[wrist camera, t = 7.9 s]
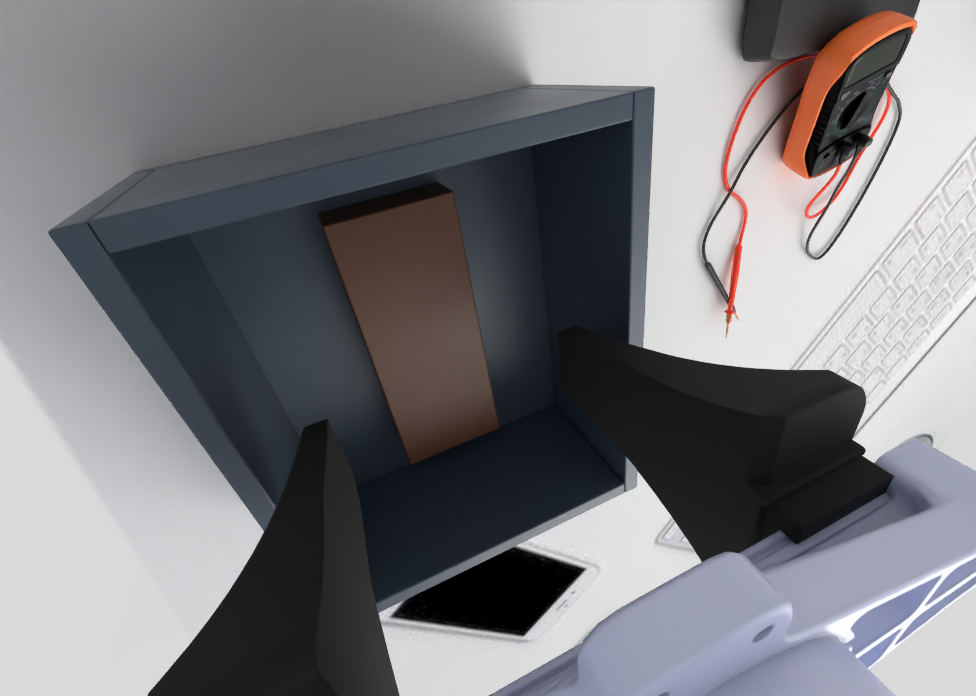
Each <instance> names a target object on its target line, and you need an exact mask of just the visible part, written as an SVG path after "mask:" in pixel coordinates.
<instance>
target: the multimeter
mask: <svg viewBox="0 0 976 696" xmlns="http://www.w3.org/2000/svg"><path fill="white" fill-rule="evenodd" d="M919 2H920V0H749V5H748V12H747V18H746V25H745V32H744V39H743V47H742V56H743V59H744V60H745V61H748V62H761V61H781V60H786V59H789V58H793V57H797V56H800V55H804V54H807V53H811V52H815V51H819V50H821V51H820V52H819V54H812V55H806V56H801V57H798V58H795V59H793V60H790V61H788V62H786V63H784V64H782V65H780V66H779V67H777V68H776V69H774V70H773V71H772V72H771V73H769V74H768V75H767V76H766V77H765V78H764V79H763V80H762V81H761V82H760V83H759V84H758V86H757V87H756V88H755V90H754V91H753V93H752V94H751V96H750V97H749V99H748V101H747V103H746V104H745V106H744V108H743V111H742V113H741V115H740V117H739V120H738V122H737V125H736V127H735V130H734V132H733V135H732V138H731V141H730V144H729V147H728V151H727V155H726V159H725V164H724V175H723V176H724V183H725V187H726V189H727V190H728V194H727V196H726V198H725V199H724V201H723V202H722V204H721V206H720V207H719V209H718V210H717V212H716V214H715V215H714V217H713V219H712V220H711V222H710V224H709V226H708V228H707V231H706V233H705V236H704V239H703V244H702V254H703V258H704V262H705V267H706V269H707V270H708V272H709V274H710V275H711V277H712V279H713V281H714V282H715V284H716V286H717V287H718V289H719V291H720V292H721V294H722V296H723V297H724V299H725V301H726V302H727V304H728V310H725V311H724V312H725V313H727V315H726V323H727V329H726V337H727V333H728V327H729V323H730V322H731V318H732V314H733V313H734V314H735V316H736V317H737V319H738V320H739V318H738V316H737V314H736V313H735V312H736V311H735V308H734V305H733V303H734V298H735V292H736V286H737V281H738V274H739V267H740V259H741V251H742V246H741V242H742V237H743V234H744V230H745V226H746V222H747V214H748V212H747V207H746V204H745V202H744V201H743V200H742V199H741V198H740V197H739V196H738V195H736V194H735V193H734V192H733V189H734V187H735V185H736V183H737V181H738V179H739V177H740V175H741V173H742V172H743V170H744V168H745V166H746V165H747V163H748V161H749V160H750V158H751V156H752V155H753V153H754V152H755V150H756V149H757V147H758V146H759V144H760V143H761V142H762V140H763V139H764V137H765V136H766V135H767V133H768V132H769V130H770V129H771V128H772V126H773V125H774V124H775V122H776V121H777V120H778V119H779V117H780V116H781V115H782V114H783V112H784V111H785V110H786V109H787V108H788V106H789V105H790V104H791V103H792V102H793V101H794V100H795V99H796V98H797V96H798V95H799V94H800V93H801V92H802V91H803V93H802V96H801V100H800V103H799V106H798V109H797V113H796V116H795V119H794V122H793V125H792V128H791V131H790V134H789V138H788V141H787V144H786V147H785V150H784V154H783V158H782V159H783V162H784V164H785V165H786V166H787V167H789V168H790V169H791V170H793V171H794V172H796V173H797V174H799V175H800V176H802V177H804V178H806V179H810V178H814V177H817V176H820V175H822V174H824V173H826V172H828V171H830V170H832V169H834V168H835V167H837V169H836V171H835V173H834V174H833V176H832V177H831V179H830V180H829V181H828V182H827V184H826V185H825V186H824V187H823V188H822V189H821V190H820V191H819V192H818V193H817V195H816V196H815V197H814V198H813V199H812V200H811V202H810V203H809V204H808V206H807V208H806V210H805V216H806V217H807V218H808V219H811V218H814V217H816V216H818V215H820V214H821V213H822V214H821V216H820V217H819V219H818V220H817V222H816V224H815V225H814V227H813V229H812V230H811V232H810V234H809V237H808V239H807V242H806V252H807V254H808V255H809V256H810V257H811V258H812V259H814V260H818V259H821V258H822V257H823V256H824V255H825V254H826V253H827V252H828V251H829V250H830V248H831V247H832V246H833V244H834V243H835V242H836V240H837V239H838V237H839V236H840V234H841V233H842V231H843V230H844V228H845V227H846V225H847V224H848V222H849V220H850V219H851V217H852V216H853V214H854V212H855V210H856V209H857V207H858V205H859V204H860V202H861V200H862V198H863V197H864V195H865V193H866V191H867V189H868V188H869V186H870V184H871V182H872V180H873V179H874V177H875V175H876V173H877V171H878V169H879V167H880V165H881V163H882V161H883V159H884V157H885V155H886V153H887V151H888V149H889V147H890V145H891V143H892V140H893V138H894V136H895V134H896V131H897V129H898V126H899V124H900V120H901V116H902V107H901V102H900V100H899V98H898V97H897V95H896V94H895V92H894V91H893V89H892V87H891V86H890V84H889V80H890V78H891V76H892V74H893V72H894V70H895V68H896V66H897V64H899V62H900V60H901V58H902V56H903V54H904V52H905V50H906V48H907V46H908V43H909V41H910V39H911V35H912V34H913V32H914V30H915V29H916V27H917V21H916V20H915V19H914V16H915V14H916V11H917V8H918V5H919ZM809 58H815V61H814V63H813V65H812V68H811V71H810V73H809V76H808V78H807V81H806V84H805V85H804V86H803V87H802V88H801V89H800V90H799V91H798V92H797V93H796V94H795V96H794V97H793V98H792V99H791V100H790V101H789V102H788V103H787V104H786V106H785V107H784V108H783V109H782V110H781V112H780V113H779V114H778V115H777V117H776V118H775V119H774V121H773V122H772V123H771V124H770V126H769V127H768V129H767V130H766V131H765V133H764V134H763V135H762V137H761V138H760V140H759V141H758V142H757V144H756V145H755V147H754V148H753V150H752V151H751V153H750V154H749V156H748V158H747V159H746V161H745V162H744V164H743V166H742V168H741V169H740V171H739V173H738V175H737V177H736V179H735V181H734V183H733V185H732V187H731V189H730V187H729V185H728V182H727V165H728V160H729V156H730V152H731V148H732V145H733V142H734V139H735V136H736V133H737V131H738V128H739V126H740V123H741V121H742V118H743V116H744V114H745V112H746V109H747V107H748V106H749V104H750V102H751V100H752V98H753V97H754V95H755V94H756V92H757V91H758V90H759V88H760V87H761V86H762V84H763V83H764V82H765V81H766V80H767V79H768V78H770V77H771V76H772V75H773V74H774V73H776V72H777V71H778V70H780V69H782V68H783V67H785V66H787V65H789V64H792V63H794V62H797V61H800V60H804V59H809ZM885 89H886V91H887V105H886V108H885V111H884V113H883V115H882V117H881V119H880V121H879V123H878V125H877V126H876V128H875V130H874V131H873V133H872V134H871V136H870V137H869V136H868V134H869V132H870V129H871V123H872V119H873V116H874V113H875V111H876V108H877V106H878V104H879V101H880V99H881V97H882V95H883V93H884V91H885ZM891 95H892V96H893V98H894V99H895V100H896V102H897V106H898V113H899V114H898V120H897V123H896V126H895V129H894V131H893V134H892V136H891V138H890V140H889V143H888V145H887V147H886V149H885V151H884V153H883V155H882V157H881V159H880V161H879V163H878V165H877V167H876V169H875V171H874V173H873V175H872V176H871V178H870V180H869V182H868V184H867V186H866V187H865V189H864V191H863V193H862V195H861V196H860V198H859V200H858V202H857V203H856V205H855V207H854V209H853V210H852V212H851V214H850V215H849V217H848V219H847V220H846V222H845V223H844V225H843V227H842V228H841V230H840V231H839V233H838V234H837V236H836V237H835V239H834V240H833V242H832V243H831V244H830V246H829V247H828V248H827V249H826V251H825V252H824V253H823V254H822V255H821V256H819V257H817V258H816V257H813V256H812V255H811V254H810V252H809V241H810V238H811V236H812V234H813V232H814V230H815V229H816V227H817V225H818V224H819V222H820V220H821V219H822V217H823V216H824V214H825V212H826V211H827V209H828V207H829V206H830V205H831V204H832V202H833V201H834V200H835V199H836V198H837V196H838V195H839V194H840V192H841V191H842V189H843V188H844V186H845V184H846V183H847V181H848V179H849V177H850V175H851V173H852V171H853V169H854V168H855V166H856V164H857V162H858V160H859V159H860V157H861V155H862V154H863V152H864V150H865V149H866V147H868V146H869V145H870V144H871V143H872V141H873V139H872V138H873V136H874V135H875V133H876V132H877V130H878V129H879V127H880V125H881V124H882V122H883V120H884V118H885V116H886V114H887V112H888V109H889V106H890V102H891ZM853 156H854V157H853ZM857 156H858V157H857ZM851 157H853V159H852V161H851V163H850V165H849V167H848V169H847V171H846V172H845V174H844V175H843V177H842V179H841V180H840V182H839V183H838V185H837V187H836V189H835V190H834V192H833V194H832V196H831V198H830V200H829V202H828V204H827V205H826V206H825V207H824V208H823V209H822V210H821V211H819V212H818V213H817V214H815V215H813V216H809V215H808V211H809V208H810V207H811V205H812V204H813V202H814V201H815V200H816V199H817V198H818V197H819V195H820V194H821V193H822V192H823V191H824V190H825V189H826V188H827V187H828V186H829V185H830V183H831V182H832V181H833V180H834V178H835V177H836V175H837V174H838V172H839V170H840V167H841V165H842V164H843V163H844V162H845V161H847V160H848V159H850V158H851ZM846 176H847V177H846ZM845 178H846V179H845ZM844 179H845V180H844ZM843 181H844V182H843ZM842 182H843V184H842ZM841 184H842V186H841V187H840V185H841ZM839 187H840V189H839ZM838 189H839V190H838ZM837 191H838V192H837ZM836 192H837V193H836ZM730 194H731V195H732V196H734V197H735V198H737V199H738V200H739V201H740V202H741V204H742V205H743V208H744V222H743V226H742V230H741V234H740V238H739V243H738V244H737V246H736V248H735V254H734V260H733V267H732V274H731V282H730V292H729V297H728V295H727V293H726V291H725V289H724V288H723V286H722V284H721V282H720V280H719V278H718V276H717V274H716V273H715V271H714V269H713V267H712V265H711V263H710V262H708V261H707V258H706V255H705V242H706V239H707V236H708V233H709V231H710V228H711V226H712V224H713V222H714V221H715V219H716V217H717V216H718V214H719V212H720V211H721V209H722V208H723V206H724V204H725V203H726V201H727V200H728V198H729V196H730ZM835 194H836V195H835Z"/></svg>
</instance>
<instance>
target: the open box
mask: <svg viewBox="0 0 976 696" xmlns="http://www.w3.org/2000/svg"><path fill="white" fill-rule="evenodd" d="M654 94H655V89H654V87H646V86H587V85H530V86H525V87H521V88H516V89H511V90H507V91H502V92H498V93H493V94H489V95H484V96H480V97H475V98H471V99H466V100H461V101H457V102H452V103H448V104H443V105H439V106H434V107H430V108H425V109H421V110H416V111H411V112H407V113H402V114H398V115H393V116H389V117H384V118H380V119H375V120H371V121H366V122H361V123H357V124H352V125H348V126H343V127H339V128H334V129H330V130H325V131H320V132H316V133H311V134H307V135H302V136H298V137H293V138H289V139H284V140H280V141H275V142H270V143H266V144H261V145H257V146H252V147H248V148H243V149H239V150H234V151H230V152H225V153H220V154H216V155H211V156H207V157H202V158H198V159H193V160H189V161H184V162H180V163H175V164H170V165H166V166H161V167H157V168H152V169H148V170H143V171H139V172H135V173H133V174H132V175H131V176H129V177H128V178H126V179H125V180H123V181H122V182H120V183H119V184H117V185H116V186H114V187H113V188H111V189H110V190H108V191H107V192H105V193H104V194H102V195H101V196H100V197H98V198H97V199H95V200H94V201H92V202H91V203H89V204H88V205H86V206H85V207H83V208H82V209H80V210H79V211H77V212H76V213H74V214H73V215H72V216H70V217H69V218H67V219H66V220H64V221H63V222H61V223H60V224H58V225H57V226H55V227H54V228H52V229H51V230H50V231H48V232H49V235H50V236H51V238H52V239H53V241H54V242H55V243H56V245H57V246H58V247H59V249H60V250H61V252H62V253H63V254H64V256H65V257H66V259H67V260H68V261H69V263H70V264H71V265H72V267H73V268H74V270H75V271H76V272H77V274H78V275H79V276H80V278H81V279H82V281H83V282H84V283H85V285H86V286H87V288H88V289H89V290H90V292H91V293H92V294H93V296H94V297H95V299H96V300H97V301H98V303H99V304H100V305H101V307H102V308H103V310H104V311H105V312H106V314H107V315H108V316H109V318H110V319H111V321H112V322H113V323H114V325H115V326H116V328H117V329H118V330H119V332H120V333H121V334H122V336H123V337H124V339H125V340H126V341H127V343H128V344H129V345H130V347H131V348H132V350H133V351H134V352H135V354H136V355H137V356H138V358H139V359H140V361H141V362H142V363H143V365H144V366H145V368H146V369H147V370H148V372H149V373H150V374H151V376H152V377H153V379H154V380H155V381H156V383H157V384H158V385H159V387H160V388H161V390H162V391H163V392H164V394H165V395H166V397H167V398H168V399H169V401H170V402H171V403H172V405H173V406H174V408H175V409H176V410H177V412H178V413H179V414H180V416H181V417H182V419H183V420H184V421H185V423H186V424H187V425H188V427H189V428H190V430H191V431H192V432H193V434H194V435H195V437H196V438H197V439H198V441H199V442H200V443H201V445H202V446H203V448H204V449H205V450H206V452H207V453H208V454H209V456H210V457H211V459H212V460H213V461H214V463H215V464H216V465H217V467H218V468H219V470H220V471H221V472H222V474H223V475H224V477H225V478H226V479H227V481H228V482H229V483H230V485H231V486H232V488H233V489H234V490H235V492H236V493H237V494H238V496H239V497H240V499H241V500H242V501H243V503H244V504H245V505H246V507H247V508H248V510H249V511H250V512H251V514H252V515H253V517H254V518H255V519H256V521H257V522H258V523H259V525H260V526H261V528H262V529H263V530H264V531H265V529H266V527H267V525H268V523H269V521H270V519H271V517H272V514H273V512H274V510H275V508H276V505H277V503H278V501H279V498H280V496H281V494H282V491H283V489H284V486H285V483H286V481H287V478H288V475H289V473H290V470H291V467H292V464H293V461H294V458H295V455H296V452H297V448H298V445H299V441H300V438H301V434H302V431H303V429H304V427H305V426H308V425H311V424H314V423H316V422H319V421H322V420H324V419H328V421H329V423H330V425H331V427H332V429H333V431H334V433H335V436H336V438H337V440H338V442H339V444H340V446H341V448H342V450H343V452H344V454H345V456H346V458H347V461H348V463H349V465H350V467H351V469H352V473H353V476H354V480H355V484H356V487H357V491H358V495H359V499H360V505H361V512H362V519H363V527H364V534H365V542H366V549H367V557H368V564H369V572H370V578H371V583H372V589H373V593H374V597H375V602H376V606H377V610H378V613H379V612H381V611H383V610H385V609H387V608H389V607H391V606H393V605H395V604H397V603H399V602H401V601H404V600H406V599H408V598H410V597H412V596H414V595H416V594H418V593H420V592H422V591H424V590H426V589H428V588H430V587H432V586H434V585H436V584H438V583H440V582H442V581H444V580H446V579H449V578H451V577H453V576H455V575H457V574H459V573H461V572H463V571H465V570H467V569H469V568H471V567H473V566H475V565H477V564H479V563H481V562H483V561H485V560H487V559H489V558H492V557H494V556H496V555H498V554H500V553H502V552H504V551H506V550H508V549H510V548H512V547H514V546H516V545H518V544H520V543H522V542H524V541H526V540H528V539H530V538H532V537H534V536H537V535H539V534H541V533H543V532H545V531H547V530H549V529H551V528H553V527H555V526H557V525H559V524H561V523H563V522H565V521H567V520H569V519H571V518H573V517H575V516H577V515H580V514H582V513H584V512H586V511H588V510H590V509H592V508H594V507H596V506H598V505H600V504H602V503H604V502H606V501H608V500H610V499H612V498H614V497H616V496H618V495H620V494H623V493H624V492H627V491H629V490H631V489H633V488H635V487H636V486H637V469H636V468H635V467H634V465H633V464H632V463H631V462H630V461H629V460H628V458H627V457H626V456H625V455H624V454H623V453H622V452H621V451H620V450H619V449H618V448H617V447H616V446H615V445H614V444H613V443H612V442H611V440H610V439H609V438H608V437H607V436H606V435H605V434H604V433H603V432H602V431H601V430H600V429H599V428H598V427H597V426H596V425H595V424H594V423H593V422H592V421H591V420H590V419H589V417H588V416H587V415H586V414H585V413H584V412H583V411H582V410H581V409H580V408H579V407H578V405H577V404H576V403H575V401H574V400H573V399H572V397H571V396H570V394H569V393H568V391H567V390H566V389H565V387H564V386H563V384H562V378H561V366H560V353H559V341H558V332H560V331H563V330H565V329H568V328H571V327H573V326H577V327H581V328H584V329H587V330H590V331H593V332H596V333H599V334H602V335H605V336H608V337H611V338H614V339H617V340H620V341H623V342H626V343H629V344H632V345H635V346H638V347H642V348H643V336H644V314H645V292H646V270H647V248H648V226H649V204H650V182H651V160H652V138H653V116H654ZM436 182H439V183H441V184H442V185H444V186H445V187H447V188H449V189H450V190H452V191H453V192H454V196H455V201H456V206H457V211H458V216H459V222H460V227H461V232H462V237H463V242H464V247H465V253H466V258H467V263H468V268H469V273H470V278H471V283H472V289H473V294H474V299H475V304H476V309H477V314H478V320H479V325H480V330H481V335H482V340H483V345H484V350H485V356H486V361H487V366H488V371H489V376H490V381H491V387H492V392H493V397H494V402H495V407H496V412H497V417H498V423H499V428H498V429H496V430H494V431H491V432H489V433H486V434H484V435H481V436H479V437H477V438H474V439H472V440H469V441H467V442H465V443H462V444H460V445H457V446H455V447H453V448H450V449H448V450H445V451H443V452H441V453H438V454H436V455H433V456H431V457H429V458H426V459H424V460H421V461H419V462H417V463H414V464H412V465H411V464H409V461H408V458H407V455H406V453H405V450H404V447H403V445H402V442H401V439H400V437H399V434H398V431H397V428H396V426H395V423H394V420H393V418H392V415H391V412H390V410H389V407H388V404H387V401H386V399H385V396H384V393H383V391H382V388H381V385H380V383H379V380H378V377H377V374H376V372H375V369H374V366H373V364H372V361H371V358H370V356H369V353H368V350H367V348H366V345H365V342H364V339H363V337H362V334H361V331H360V329H359V326H358V323H357V321H356V318H355V315H354V312H353V310H352V307H351V304H350V302H349V299H348V296H347V294H346V291H345V288H344V285H343V283H342V280H341V277H340V275H339V272H338V269H337V267H336V264H335V261H334V258H333V256H332V253H331V250H330V248H329V245H328V242H327V240H326V237H325V234H324V231H323V229H322V226H321V223H320V220H319V217H318V214H319V213H322V212H325V211H329V210H333V209H337V208H341V207H344V206H348V205H352V204H356V203H360V202H363V201H367V200H371V199H375V198H379V197H383V196H386V195H390V194H394V193H398V192H402V191H405V190H409V189H413V188H417V187H421V186H424V185H428V184H432V183H436Z"/></svg>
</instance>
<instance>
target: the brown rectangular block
mask: <svg viewBox="0 0 976 696" xmlns="http://www.w3.org/2000/svg"><path fill="white" fill-rule="evenodd" d="M318 217H319V220H320V223H321V226H322V229H323V231H324V234H325V237H326V240H327V242H328V245H329V248H330V250H331V253H332V256H333V258H334V261H335V264H336V267H337V269H338V272H339V275H340V277H341V280H342V283H343V285H344V288H345V291H346V294H347V296H348V299H349V302H350V304H351V307H352V310H353V312H354V315H355V318H356V321H357V323H358V326H359V329H360V331H361V334H362V337H363V339H364V342H365V345H366V348H367V350H368V353H369V356H370V358H371V361H372V364H373V366H374V369H375V372H376V374H377V377H378V380H379V383H380V385H381V388H382V391H383V393H384V396H385V399H386V401H387V404H388V407H389V410H390V412H391V415H392V418H393V420H394V423H395V426H396V428H397V431H398V434H399V437H400V439H401V442H402V445H403V447H404V450H405V453H406V455H407V458H408V461H409V464H411V465H412V464H414V463H417V462H419V461H421V460H424V459H426V458H429V457H431V456H433V455H436V454H438V453H441V452H443V451H445V450H448V449H450V448H453V447H455V446H457V445H460V444H462V443H465V442H467V441H469V440H472V439H474V438H477V437H479V436H481V435H484V434H486V433H489V432H491V431H494V430H496V429H498V428H499V423H498V417H497V412H496V407H495V402H494V397H493V392H492V387H491V381H490V376H489V371H488V366H487V361H486V356H485V350H484V345H483V340H482V335H481V330H480V325H479V320H478V314H477V309H476V304H475V299H474V294H473V289H472V283H471V278H470V273H469V268H468V263H467V258H466V253H465V247H464V242H463V237H462V232H461V227H460V222H459V216H458V211H457V206H456V201H455V196H454V192H453V191H452V190H450V189H449V188H447V187H445V186H444V185H442V184H441V183H439V182H436V183H432V184H428V185H424V186H421V187H417V188H413V189H409V190H405V191H402V192H398V193H394V194H390V195H386V196H383V197H379V198H375V199H371V200H367V201H363V202H360V203H356V204H352V205H348V206H344V207H341V208H337V209H333V210H329V211H325V212H322V213H319V214H318Z"/></svg>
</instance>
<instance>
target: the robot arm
mask: <svg viewBox="0 0 976 696" xmlns="http://www.w3.org/2000/svg"><path fill="white" fill-rule="evenodd" d="M558 341H559V353H560V366H561V378H562V384H563V386H564V387H565V389H566V390H567V391H568V393H569V394H570V396H571V397H572V399H573V400H574V401H575V403H576V404H577V405H578V407H579V408H580V409H581V410H582V411H583V412H584V413H585V414H586V415H587V416H588V417H589V419H590V420H591V421H592V422H593V423H594V424H595V425H596V426H597V427H598V428H599V429H600V430H601V431H602V432H603V433H604V434H605V435H606V436H607V437H608V438H609V439H610V440H611V442H612V443H613V444H614V445H615V446H616V447H617V448H618V449H619V450H620V451H621V452H622V453H623V454H624V455H625V456H626V457H627V458H628V460H629V461H630V462H631V463H632V464H633V465H634V467H635V468H636V469H637V470H638V472H639V473H640V474H641V476H642V477H643V478H644V480H645V481H646V482H647V483H648V485H649V486H650V487H651V489H652V490H653V491H654V493H655V494H656V495H657V497H658V498H659V500H660V501H661V502H662V504H663V505H664V506H665V508H666V509H667V511H668V512H669V513H670V515H671V516H672V518H673V519H674V520H675V522H676V523H677V525H678V526H679V528H680V529H681V531H682V532H683V534H684V535H685V537H686V538H687V539H688V541H689V542H690V544H691V545H692V547H693V548H694V550H695V552H696V553H697V555H698V556H699V558H700V559H701V561H702V562H701V563H700V564H698V565H696V566H694V567H693V568H691V569H689V570H687V571H685V572H684V573H682V574H680V575H678V576H677V577H675V578H673V579H671V580H669V581H668V582H666V583H664V584H662V585H661V586H659V587H657V588H655V589H653V590H652V591H650V592H648V593H646V594H645V595H643V596H641V597H639V598H637V599H636V600H634V601H632V602H630V603H629V604H627V605H625V606H623V607H621V608H620V609H618V610H616V611H615V612H614V613H612V614H611V615H609V616H608V617H607V618H605V619H604V620H602V621H601V622H600V623H598V624H597V625H596V626H595V628H594V629H593V630H592V631H591V632H590V633H589V635H588V636H587V637H586V638H585V639H584V640H583V643H581V644H579V645H577V646H575V647H574V648H572V649H570V650H568V651H567V652H565V653H563V654H561V655H560V656H558V657H556V658H554V659H553V660H551V661H549V662H547V663H546V664H544V665H542V666H540V667H539V668H537V669H535V670H533V671H532V672H530V673H528V674H526V675H525V676H523V677H521V678H519V679H518V680H516V681H514V682H512V683H511V684H509V685H507V686H505V687H504V688H502V689H500V690H498V691H497V692H495V693H493V694H491V695H490V696H895V695H894V694H893V693H892V692H891V691H890V690H889V689H888V688H887V687H886V686H885V685H884V684H883V683H882V682H881V681H880V680H879V679H878V678H877V677H876V676H875V675H874V674H873V673H872V672H871V671H870V670H869V668H870V667H872V666H873V665H874V664H876V662H878V661H879V660H880V659H882V658H883V657H884V656H885V655H887V654H888V653H889V652H890V651H892V650H893V649H894V648H896V647H897V646H898V645H899V644H900V643H902V642H903V641H904V640H906V639H907V638H908V637H909V636H911V634H913V633H914V632H915V631H917V630H918V629H919V628H921V627H922V626H923V625H924V624H926V623H927V622H928V621H930V620H931V619H932V618H933V617H935V616H936V615H937V614H938V613H940V612H941V611H942V610H943V609H945V608H946V607H948V606H949V605H950V604H952V603H953V602H954V601H956V600H957V599H958V598H960V597H961V596H962V595H963V594H965V593H966V592H968V591H969V590H971V589H972V588H973V587H975V586H976V471H975V470H973V469H971V468H969V467H967V466H966V465H963V464H962V463H960V462H958V461H957V460H955V459H953V458H951V457H949V456H947V455H946V454H944V453H942V452H940V451H938V450H937V449H935V448H933V447H931V446H929V445H928V444H926V443H924V442H922V441H920V440H919V439H917V438H913V439H910V440H908V441H906V442H904V443H902V444H901V445H899V446H897V447H895V448H894V449H892V450H890V451H888V452H886V453H885V454H883V455H882V456H881V457H880V458H879V459H878V460H877V461H876V462H875V463H873V462H871V461H869V460H868V459H866V458H865V457H863V456H862V455H863V454H864V453H865V451H866V450H865V448H864V447H863V446H861V445H860V444H858V443H856V442H855V441H853V440H852V438H853V436H854V434H855V431H856V429H857V426H858V424H859V422H860V419H861V417H862V414H863V412H864V408H865V405H866V395H865V392H864V390H863V388H862V387H860V386H858V385H856V384H854V383H853V382H851V381H849V380H847V379H845V378H843V377H841V376H839V375H838V374H836V373H834V372H832V371H830V370H772V369H755V368H743V367H734V366H726V365H718V364H711V363H705V362H700V361H694V360H689V359H684V358H679V357H675V356H671V355H667V354H663V353H659V352H656V351H652V350H648V349H645V348H642V347H638V346H635V345H632V344H629V343H626V342H623V341H620V340H617V339H614V338H611V337H608V336H605V335H602V334H599V333H596V332H593V331H590V330H587V329H584V328H581V327H577V326H573V327H571V328H568V329H565V330H563V331H560V332H558ZM148 696H399V692H398V688H397V685H396V681H395V677H394V673H393V669H392V666H391V662H390V658H389V654H388V650H387V646H386V642H385V638H384V634H383V630H382V626H381V622H380V618H379V614H378V610H377V606H376V602H375V597H374V593H373V589H372V583H371V578H370V572H369V564H368V557H367V549H366V542H365V534H364V527H363V519H362V512H361V505H360V499H359V495H358V491H357V487H356V484H355V480H354V476H353V473H352V469H351V467H350V465H349V463H348V461H347V458H346V456H345V454H344V452H343V450H342V448H341V446H340V444H339V442H338V440H337V438H336V436H335V433H334V431H333V429H332V427H331V425H330V423H329V421H328V419H324V420H322V421H319V422H316V423H314V424H311V425H308V426H305V427H304V429H303V431H302V434H301V438H300V441H299V445H298V448H297V452H296V455H295V458H294V461H293V464H292V467H291V470H290V473H289V475H288V478H287V481H286V483H285V486H284V489H283V491H282V494H281V496H280V498H279V501H278V503H277V505H276V508H275V510H274V512H273V514H272V517H271V519H270V521H269V523H268V525H267V527H266V529H265V531H264V533H263V535H262V537H261V539H260V541H259V543H258V544H257V546H256V548H255V550H254V552H253V554H252V555H251V557H250V559H249V560H248V562H247V564H246V565H245V567H244V569H243V570H242V572H241V574H240V575H239V577H238V578H237V580H236V581H235V583H234V585H233V586H232V588H231V589H230V591H229V592H228V594H227V595H226V597H225V598H224V600H223V601H222V602H221V604H220V605H219V607H218V608H217V609H216V611H215V612H214V614H213V615H212V616H211V618H210V619H209V620H208V622H207V623H206V624H205V625H204V627H203V628H202V629H201V631H200V632H199V633H198V635H197V636H196V637H195V638H194V640H193V641H192V642H191V644H190V645H189V646H188V647H187V648H186V650H185V651H184V652H183V653H182V654H181V656H180V657H179V658H178V659H177V660H176V662H175V663H174V664H173V665H172V666H171V667H170V669H169V670H168V671H167V672H166V673H165V675H164V676H163V677H162V678H161V680H160V681H159V682H158V683H157V684H156V685H155V686H154V687H153V689H152V690H151V691H150V692H149V693H148Z"/></svg>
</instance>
